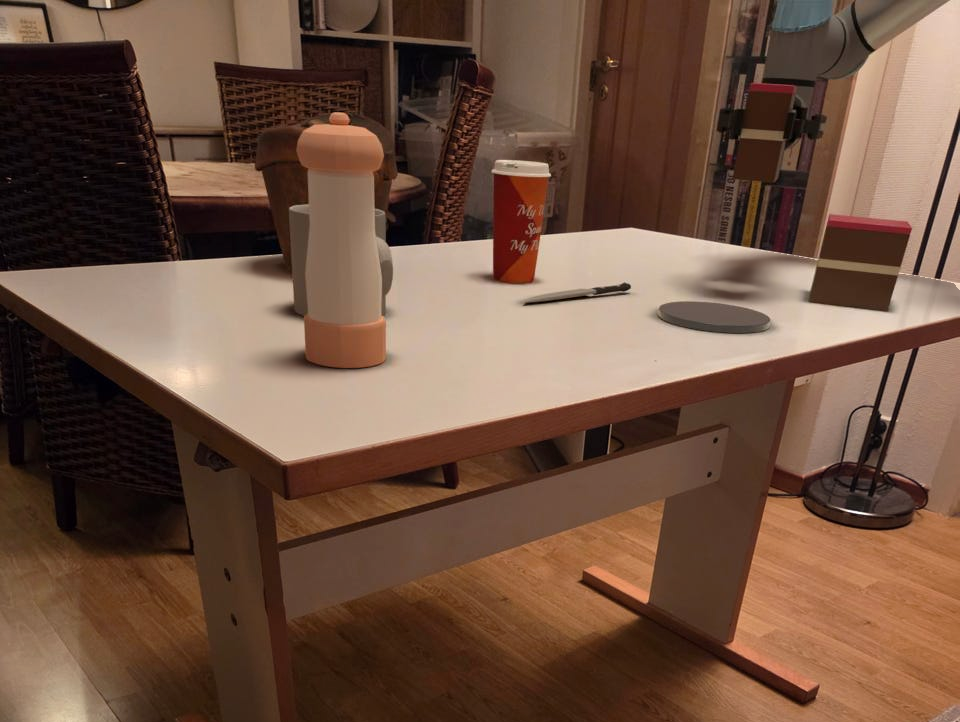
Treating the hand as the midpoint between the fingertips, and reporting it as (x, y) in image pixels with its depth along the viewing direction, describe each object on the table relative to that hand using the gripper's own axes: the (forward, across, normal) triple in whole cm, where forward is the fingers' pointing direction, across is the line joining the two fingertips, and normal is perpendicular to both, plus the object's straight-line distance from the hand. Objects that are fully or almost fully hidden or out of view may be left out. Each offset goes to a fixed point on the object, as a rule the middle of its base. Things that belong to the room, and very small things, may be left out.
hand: (763, 124), depth 101 cm
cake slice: (-5, 0, +6) cm, 8 cm away
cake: (-12, +15, +20) cm, 27 cm away
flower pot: (+12, -52, +20) cm, 57 cm away
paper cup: (+3, -28, +20) cm, 35 cm away
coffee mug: (+35, -37, +20) cm, 55 cm away
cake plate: (+12, 0, +20) cm, 23 cm away
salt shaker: (+51, -29, +20) cm, 62 cm away
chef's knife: (+10, -18, +20) cm, 29 cm away
